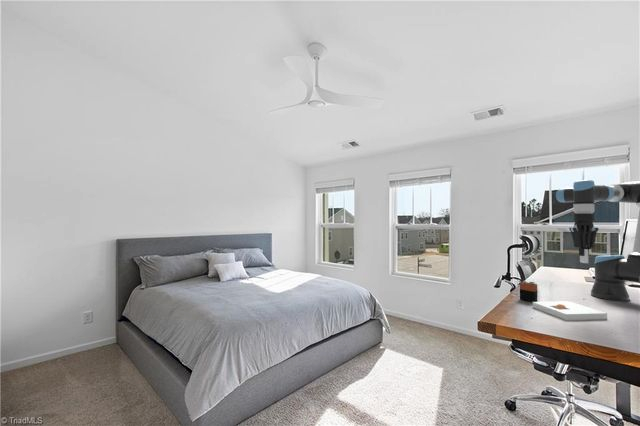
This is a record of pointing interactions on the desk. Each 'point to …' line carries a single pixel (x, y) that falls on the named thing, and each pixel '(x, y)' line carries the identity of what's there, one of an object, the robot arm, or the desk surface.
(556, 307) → the ball
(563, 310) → the white flat square slab
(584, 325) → the desk surface
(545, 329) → the desk surface
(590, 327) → the desk surface
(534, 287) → the battery
